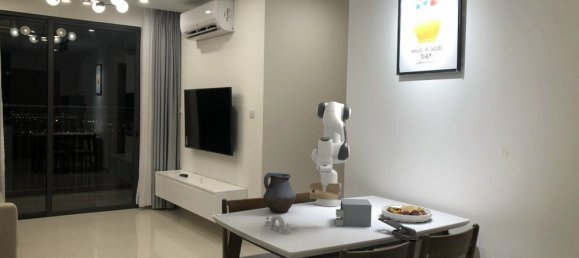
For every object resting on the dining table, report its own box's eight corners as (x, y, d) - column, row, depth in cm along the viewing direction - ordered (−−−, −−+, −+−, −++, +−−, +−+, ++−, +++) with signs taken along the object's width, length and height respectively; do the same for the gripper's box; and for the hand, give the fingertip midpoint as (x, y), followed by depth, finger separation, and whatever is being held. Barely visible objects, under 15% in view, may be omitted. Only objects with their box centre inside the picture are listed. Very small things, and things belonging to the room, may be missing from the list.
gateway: (264, 226, 253) (265, 212, 252) (268, 226, 254) (268, 212, 254) (287, 235, 237) (287, 220, 237) (290, 234, 239) (290, 219, 238)
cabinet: (334, 218, 274) (334, 198, 274) (367, 219, 274) (367, 199, 273) (336, 225, 257) (336, 204, 256) (371, 227, 256) (372, 205, 255)
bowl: (373, 212, 293) (374, 200, 292) (417, 211, 299) (417, 199, 298) (393, 225, 263) (394, 211, 263) (441, 223, 270) (442, 210, 269)
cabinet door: (309, 198, 260) (310, 182, 260) (340, 199, 259) (341, 183, 259) (309, 199, 256) (310, 183, 256) (341, 200, 256) (341, 184, 255)
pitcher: (302, 213, 286) (303, 173, 284) (273, 217, 273) (274, 175, 271) (282, 206, 302) (283, 169, 301) (254, 210, 289) (255, 171, 288)
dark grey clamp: (388, 216, 256) (422, 227, 234) (388, 227, 256) (421, 239, 234) (376, 217, 251) (409, 228, 230) (375, 229, 252) (408, 242, 230)
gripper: (318, 163, 268) (317, 187, 269) (319, 168, 248) (318, 194, 248) (329, 164, 268) (328, 187, 269) (331, 169, 248) (330, 194, 248)
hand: (324, 190), depth 258 cm, fingers closed on cabinet door, 2 cm apart
